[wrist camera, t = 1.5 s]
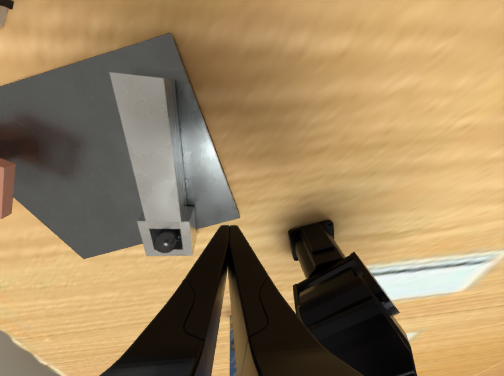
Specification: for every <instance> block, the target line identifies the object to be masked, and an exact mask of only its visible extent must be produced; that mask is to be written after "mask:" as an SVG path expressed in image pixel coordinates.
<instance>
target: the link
mask: <svg viewBox="0 0 504 376" xmlns="http://www.w3.org/2000/svg"><path fill="white" fill-rule="evenodd" d="M109 73H110V77H111V81H112V85H113V89H114V93H115V98H116V102H117V106H118V110H119V114H120V118H121V122H122V126H123V130H124V134H125V138H126V142H127V147H128V151H129V155H130V159H131V163H132V167H133V171H134V175H135V179H136V183H137V187H138V192H139V196H140V200H141V204H142V208H143V213H142V215H141V216H140V218H139V219H138V220H137V223H138V227H139V230H140V234H141V238H142V241H143V245H144V249H145V252H146V256H190V255H193V251H194V247H195V243H196V239H197V237H196V223H195V209H194V207H189V206H187V201H186V191H185V181H184V170H183V160H182V150H181V139H180V129H179V118H178V108H177V98H176V87H175V80H172V79H165V78H157V77H148V76H139V75H130V74H122V73H113V72H109ZM161 229H181V233H179V235H178V238H177V241H176V243H175V246H174V249H173V250H172V251H171V252H169V253H161V252H158V251H157V250H156V249H155V248H154V243H155V241H156V239H157V237H158V235H159V233H160V231H161Z"/></svg>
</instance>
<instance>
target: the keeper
mask: <svg viewBox="0 0 504 376" xmlns="http://www.w3.org/2000/svg"><path fill="white" fill-rule="evenodd" d="M15 165H16V164H15V163H12V162H9V161H7V160H4V159H1V158H0V219H2V218H4V217H6V216H8V215H10V214H11V213H12V201H13V189H14V177H15Z"/></svg>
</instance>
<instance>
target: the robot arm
mask: <svg viewBox="0 0 504 376" xmlns="http://www.w3.org/2000/svg"><path fill="white" fill-rule="evenodd" d="M329 223H330V224H329ZM291 233H292V234H291ZM288 235H289V240H290V245H291V250H292V255H293V259H294V260H295V261H298V260H299V262H300V264H301V267H302V270H303V272H304V275H305V277H306V279H305V280H304V281H302V282H300V283H298V284H295V285H293V293H294V302H295V310H296V313H295V312H294V311H293V310H292V308H291V307H290V306H289V305H288V303H287V302H286V301H285V299H284V298H283V297H282V295H281V294H280V292H279V291H278V289H277V288H276V286H275V285H274V283H273V282H272V280H271V279H270V277H269V276H268V274H267V272H266V271H265V269H264V267H263V266H262V264H261V263H260V261H259V259H258V258H257V256H256V254H255V253H254V251H253V250H252V248H251V246H250V245H249V243H248V242H247V240H246V238H245V237H244V235H243V233H242V232H241V230H240V229H239V227H238V226H237V225H230V226H229V225H221V226H220V227H219V229H218V230H217V232H216V233H215V235H214V236H213V238H212V239H211V241H210V242H209V244H208V245H207V247H206V248H205V249H204V251H203V252H202V254H201V255H200V257H199V258H198V260H197V261H196V263H195V264H194V266H193V267H192V269H191V270H190V271H189V273H188V274H187V276H186V278H185V279H184V280H183V282H182V283H181V285H180V286H179V287H178V289H177V290H176V291H175V293H174V294H173V296H172V297H171V298H170V300H169V301H168V302H167V303H166V305H165V306H164V307H163V308H162V309H161V311H160V312H159V313H158V314H157V315H156V317H155V318H154V319H153V320H152V321H151V323H150V324H149V325H148V326H147V327H146V328H145V330H144V331H143V332H142V333H141V334H140V336H139V337H138V338H137V339H136V340H135V341H134V343H133V344H132V345H131V346H130V347H129V348H128V350H127V351H126V352H125V353H124V354H123V355H122V356H121V357H120V358H119V359H118V360H117V361H116V362H115V363H114V364H113V365H112V366H111V367H110V368H108V369H107V370H106V371H105V372H103V373H102V374H101V375H100V376H211V373H212V367H213V361H214V354H215V348H216V341H217V335H218V328H219V322H220V316H221V309H222V303H223V296H224V290H225V284H226V277H227V270H228V279H229V290H230V301H231V312H232V323H233V334H234V345H235V356H236V368H237V376H417V373H416V369H415V364H414V359H413V355H412V350H411V347H410V344H409V341H408V338H407V335H406V333H405V332H404V330H403V329H402V328H401V326H400V325H399V323H398V322H397V321H396V319H395V318H394V315H396V314H398V313H400V312H399V311H398V309H397V308H396V307H395V305H394V304H393V302H392V301H391V300H390V298H389V297H388V295H387V294H386V293H385V291H384V290H383V288H382V287H381V286H380V284H379V283H378V282H377V280H376V279H375V278H374V276H373V275H372V274H371V272H370V271H369V270H368V268H367V267H366V266H365V265H364V263H363V262H362V261H361V260H360V258H359V257H358V256H357V255H356V253H355V252H353V253H351V255H349V256H347V257H345V255H344V254H343V253H342V251H341V250H340V248H339V247H338V245H337V244H336V242H335V241H334V228H333V222H332V221H331V220H327V221H323V222H319V223H315V224H311V225H308V226H304V227H300V228H296V229H292V230H289V231H288Z"/></svg>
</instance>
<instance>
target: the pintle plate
mask: <svg viewBox="0 0 504 376" xmlns="http://www.w3.org/2000/svg"><path fill="white" fill-rule="evenodd" d="M109 72H113V73H122V74H130V75H139V76H148V77H157V78H165V79H172V80H175V87H176V98H177V108H178V118H179V129H180V139H181V150H182V160H183V170H184V181H185V191H186V201H187V206H189V207H194V209H195V223H196V229H200V228H203V227H207V226H211V225H215V224H219V223H222V222H226V221H230V220H234V219H237V218H240V214H239V212H238V209H237V206H236V204H235V201H234V198H233V196H232V193H231V190H230V188H229V185H228V182H227V179H226V177H225V174H224V171H223V169H222V166H221V163H220V161H219V158H218V155H217V153H216V150H215V147H214V145H213V142H212V139H211V137H210V134H209V131H208V128H207V126H206V123H205V120H204V118H203V115H202V112H201V110H200V107H199V104H198V102H197V99H196V96H195V94H194V91H193V88H192V86H191V83H190V80H189V77H188V75H187V72H186V69H185V67H184V64H183V61H182V59H181V56H180V53H179V51H178V48H177V45H176V43H175V40H174V37H173V35H172V34H171V33H168V34H165V35H162V36H159V37H156V38H152V39H149V40H146V41H143V42H140V43H137V44H133V45H130V46H127V47H124V48H121V49H118V50H115V51H111V52H108V53H105V54H102V55H99V56H96V57H92V58H89V59H86V60H83V61H80V62H77V63H74V64H70V65H67V66H64V67H61V68H58V69H55V70H51V71H48V72H45V73H42V74H39V75H36V76H32V77H29V78H26V79H23V80H20V81H17V82H14V83H10V84H7V85H4V86H1V87H0V158H1V159H4V160H7V161H9V162H12V163H15V164H16V165H15V177H14V189H13V197H14V198H15V199H16V200H17V201H18V202H20V203H21V204H22V205H23V206H24V207H25V208H26V209H27V210H29V211H30V212H31V213H32V214H33V215H34V216H35V217H37V218H38V219H39V220H40V221H41V222H42V223H43V224H44V225H46V226H47V227H48V228H49V229H50V230H51V231H52V232H54V233H55V234H56V235H57V236H58V237H59V238H60V239H61V240H63V241H64V242H65V243H66V244H67V245H68V246H69V247H71V248H72V249H73V250H74V251H75V252H76V253H77V254H78V255H80V256H81V257H82V258H83V259H86V258H90V257H94V256H97V255H101V254H105V253H109V252H113V251H116V250H120V249H124V248H128V247H132V246H135V245H139V244H143V241H142V238H141V234H140V230H139V227H138V223H137V220H138V219H139V218H140V216H141V215H142V213H143V208H142V204H141V200H140V196H139V192H138V187H137V183H136V179H135V175H134V171H133V167H132V163H131V159H130V155H129V151H128V147H127V142H126V138H125V134H124V130H123V126H122V122H121V118H120V114H119V110H118V106H117V102H116V98H115V93H114V89H113V85H112V81H111V77H110V73H109ZM179 233H181V229H161V231H160V233H159V235H158V237H157V239H156V241H155V243H154V248H155V249H156V250H157V251H158V252H161V253H169V252H171V251H172V250H173V249H174V246H175V243H176V241H177V238H178V235H179Z"/></svg>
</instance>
